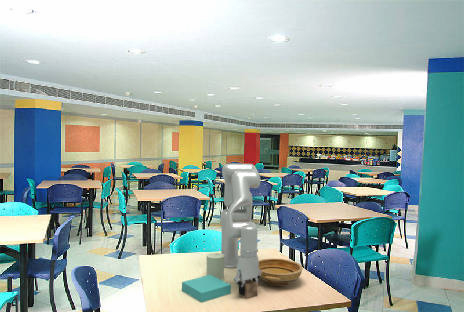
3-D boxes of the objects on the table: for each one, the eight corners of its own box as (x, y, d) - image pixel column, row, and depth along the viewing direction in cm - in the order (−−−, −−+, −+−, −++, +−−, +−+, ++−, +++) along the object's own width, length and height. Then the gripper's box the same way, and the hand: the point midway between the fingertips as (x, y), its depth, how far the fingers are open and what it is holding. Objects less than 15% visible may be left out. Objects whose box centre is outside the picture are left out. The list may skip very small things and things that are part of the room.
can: (226, 276, 187) (227, 253, 186) (220, 282, 178) (220, 258, 178) (210, 273, 190) (210, 251, 189) (203, 279, 181) (203, 255, 181)
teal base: (210, 282, 177) (210, 274, 177) (230, 293, 165) (231, 284, 164) (181, 290, 167) (182, 281, 167) (201, 302, 154) (201, 293, 154)
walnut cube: (248, 291, 167) (248, 278, 167) (257, 295, 163) (257, 282, 163) (238, 294, 163) (238, 281, 163) (247, 299, 159) (247, 285, 159)
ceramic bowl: (261, 269, 198) (261, 254, 198) (306, 275, 190) (306, 260, 190) (245, 288, 170) (245, 271, 170) (297, 296, 162) (297, 279, 162)
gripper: (257, 248, 171) (256, 285, 171) (228, 254, 160) (227, 294, 160) (268, 251, 165) (267, 290, 166) (239, 258, 154) (238, 300, 155)
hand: (247, 292), depth 163 cm, fingers open, 6 cm apart
